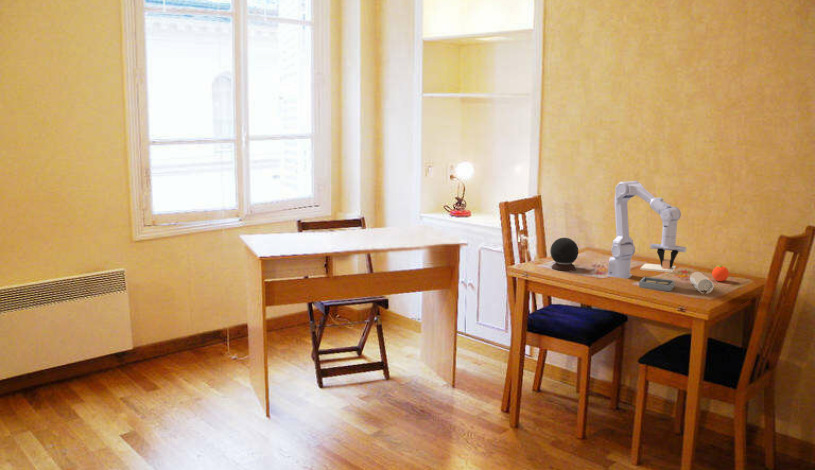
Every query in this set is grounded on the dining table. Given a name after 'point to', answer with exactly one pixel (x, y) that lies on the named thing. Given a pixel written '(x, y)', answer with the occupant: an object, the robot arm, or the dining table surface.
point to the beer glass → (701, 282)
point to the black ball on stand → (564, 254)
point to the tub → (657, 286)
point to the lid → (659, 267)
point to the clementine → (720, 273)
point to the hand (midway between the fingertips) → (666, 266)
